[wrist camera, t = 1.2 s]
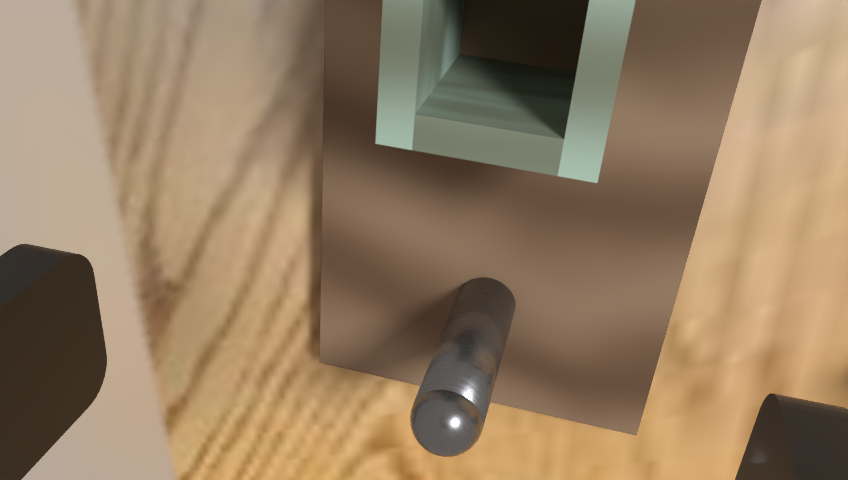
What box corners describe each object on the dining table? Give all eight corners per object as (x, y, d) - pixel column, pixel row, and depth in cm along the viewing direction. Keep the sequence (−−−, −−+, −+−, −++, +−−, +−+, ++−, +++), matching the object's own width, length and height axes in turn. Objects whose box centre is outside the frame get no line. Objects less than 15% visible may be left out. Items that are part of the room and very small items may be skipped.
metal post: (459, 272, 32) (404, 406, 25) (519, 284, 31) (480, 424, 25) (453, 320, 33) (399, 462, 26) (511, 333, 33) (471, 480, 26)
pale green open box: (442, -118, 25) (387, -93, 20) (650, -93, 24) (648, -61, 19) (426, 79, 28) (375, 143, 23) (609, 109, 27) (597, 183, 22)
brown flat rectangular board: (341, -196, 26) (328, -195, 25) (797, -149, 23) (803, -146, 22) (328, 346, 37) (319, 362, 36) (637, 416, 35) (636, 435, 34)
